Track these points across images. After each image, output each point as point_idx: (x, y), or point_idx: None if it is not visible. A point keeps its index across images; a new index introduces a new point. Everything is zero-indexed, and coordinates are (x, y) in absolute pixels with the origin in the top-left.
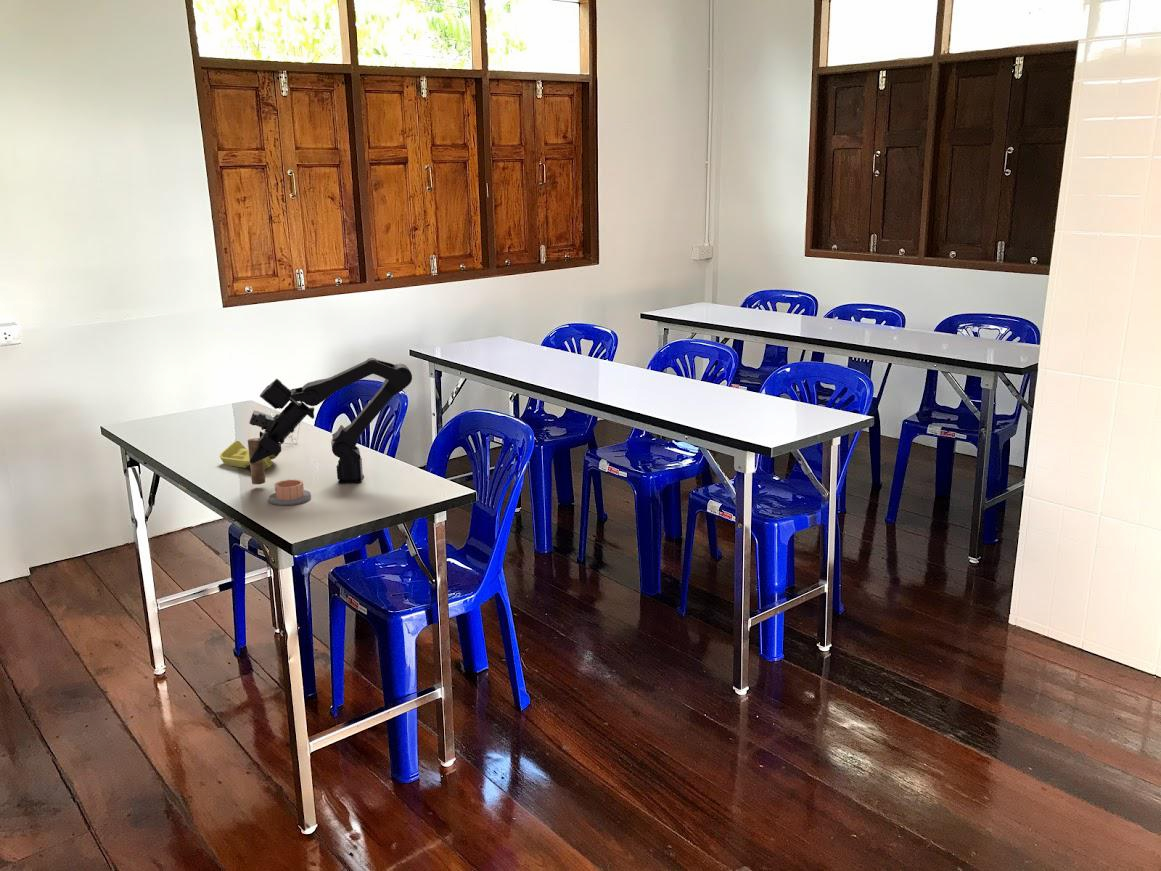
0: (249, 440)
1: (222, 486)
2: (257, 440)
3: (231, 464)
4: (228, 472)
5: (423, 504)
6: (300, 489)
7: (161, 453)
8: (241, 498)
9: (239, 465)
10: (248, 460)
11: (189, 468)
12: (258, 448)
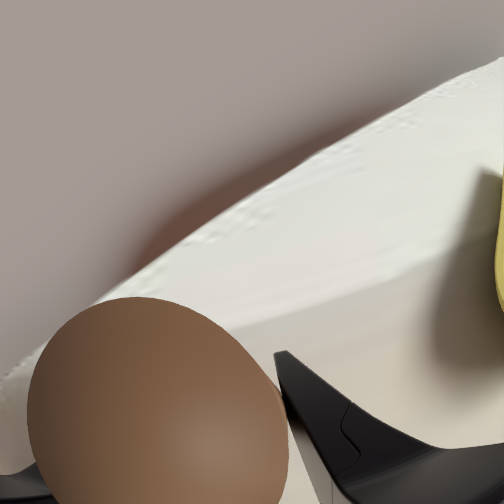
0: (94, 338)
1: (290, 240)
2: (81, 494)
3: (501, 200)
4: (453, 210)
5: None
6: None
7: (486, 82)
8: None
9: (498, 228)
10: (501, 259)
11: (444, 118)
12: (35, 469)
